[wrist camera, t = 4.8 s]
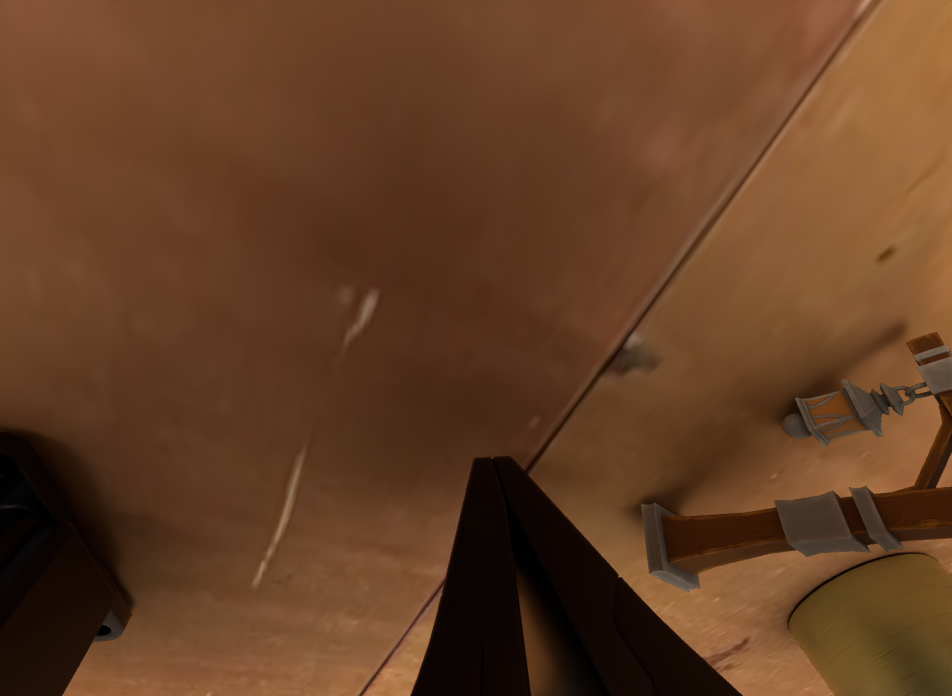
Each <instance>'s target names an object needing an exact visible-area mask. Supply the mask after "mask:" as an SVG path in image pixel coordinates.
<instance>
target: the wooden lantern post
mask: <svg viewBox="0 0 952 696" xmlns="http://www.w3.org/2000/svg"><path fill="white" fill-rule="evenodd" d="M906 344H907V346H908V347H909V349H910V350H911V352H912V353H913V357H914V359H915V360H916V362H917V363H918V365H919V367H917V369H918V370H919V372H920V374H921V376H922V377H923V379H924V381H925V382H923V383H920V384H916V385H914V386H911V387H905V386H900V387H894V388H890V387H888V386H886V385H885V384H883V383H880V390H881V391H882V393H883V395H880V394H878V393H877V392H876V391H874V390H873V389H872V391H871V393H870V394H869V393H867V392H865V391H863V390H861V389H860V388H858V387H856V386H855V385H853V384H852V383H851V382H849V381H848V380H847V379H846V378H845V379H842V380H841V381H842V383H843V385H844V387H845V388H843V389H841V390H839V391H837V392H833V393H829V394H825V395H821V396H817V397H813V398H809V399H800V398H799V397H798V398H795V400H796V402H797V404H798V407H799V409H800V412H801V413H792V414H789V415H788V416H786V417H785V419H784V421H783V429H784V431H785V432H786V433H787V434H788V435H789V436H791V437H794V438H797V439H803V438H807V437H809V436H810V435H811V434H812V435H813V436H814V437H815V438H816V439H817V440H818V441H819V442H820V443H821V444H822V445H824V446H825V447H827V446H828V444H829V443H831V442H832V441H834V440H836V439H839V438H842V437H845V436H848V435H851V434H854V433H857V432H860V431H865V430H872V431H873V433H874V434H875V435H876V436H877V437H882V436H883V435H882V430H881V417H882V413H884V414H887V415H889V409H888V407H892V408H893V410H894V411H895V412H897V413H898V414H899V415H901V416H903V408H904V406H905V405H908V404H910V403H912V402H914V400H915V398H922V397H926V396H930V395H934V397H935V398H936V400H937V401H938V403H939V404H940V405H939V409H940V414H941V418H942V425H941V427H940V429H939V432H938V434H937V436H936V438H935V441H934V443H933V445H932V447H931V449H930V452H929V454H928V456H927V458H926V460H925V463H924V465H923V467H922V469H921V472H920V474H919V476H918V478H917V480H916V483H915V485H914V486H911V487H908V488H905V489H901V490H898V491H895V492H891V493H881V494H873V493H872V492H871V491H870V490H869V489H868V488H867V487H866V486H864V487H861V488H850V487H849V489H850V491H851V494H852V496H851V497H844V498H840V497H839V496H838V495H837V494H836V493H835V492H834V491H833V490H832V491H830V492H827V493H825V494H822V495H819V496H814V497H808V498H801V499H795V500H774V502H775V505H776V508H771V509H765V510H758V511H752V512H746V513H731V514H716V515H701V516H676V515H674V514H672V513H671V512H669V511H667V510H666V509H664V508H662V507H661V506H659V505H657V504H656V503H653V504H652V505H644V504H642V503H641V508H642V516H643V525H644V533H645V541H646V550H647V558H648V567H649V574H651V575H653V576H655V577H657V578H659V579H661V580H663V581H665V582H668V583H670V584H672V585H674V586H676V587H678V588H680V589H682V590H684V591H687V592H689V591H690V590H691V589H694V588H699V589H701V588H700V583H699V577H698V573H700V572H703V571H706V570H708V569H711V568H714V567H717V566H721V565H725V564H729V563H733V562H737V561H742V560H746V559H750V558H754V557H758V556H762V555H766V554H771V553H779V552H786V551H793V550H798V551H799V552H801V553H802V554H804V555H805V556H807V557H808V556H812V555H815V554H819V553H831V552H847V551H855V552H865V553H871V552H870V550H869V548H868V546H867V545H871V544H879V545H880V546H881V547H882V548H883V549H885V550H886V551H887V552H889V551H890V550H895V549H898V550H904V548H903V546H902V544H901V541H916V540H930V539H945V538H952V487H944V488H936V486H937V484H938V481H939V479H940V477H941V475H942V473H943V470H944V468H945V466H946V464H947V461H948V459H949V457H950V455H951V453H952V353H951V351H950V350H949V348H948V346H947V345H944V343H943V342H942V340H941V338H940V336H939V335H938V333H937V332H933V333H930V334H928V335H925V336H922V337H919V338H916V339H913V340H910V341H908V342H906ZM925 386H928V387H929V389H930V391H928V392H924V393H920V394H916V393H915V391H914V390H916V389H918V388H922V387H925ZM897 390H906V391H905V395H906V396H908V397H910V399H909V400H907V401H906V402H904V401H903V400H902V398H901V396H900V395H899V394H898V392H897Z"/></svg>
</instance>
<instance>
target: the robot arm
mask: <svg viewBox="0 0 952 696" xmlns="http://www.w3.org/2000/svg"><path fill="white" fill-rule="evenodd" d="M131 616H132V614H131V610H130V609H129V607H128V605H127V603H126V602H125V600H124V598H123V597H122V595H121V593H120V592H119V590H118V588H117V587H116V585H115V583H114V582H113V580H112V578H111V577H110V575H109V573H108V571H107V570H106V568H105V566H104V565H103V563H102V561H101V560H100V558H99V556H98V555H97V553H96V551H95V550H94V548H93V546H92V544H91V543H90V541H89V539H88V538H87V536H86V534H85V533H84V531H83V529H82V528H81V526H80V524H79V523H78V521H77V519H76V518H75V516H74V514H73V512H72V511H71V509H70V507H69V506H68V504H67V502H66V501H65V499H64V497H63V496H62V494H61V492H60V491H59V489H58V487H57V485H56V484H55V482H54V480H53V479H52V477H51V475H50V474H49V472H48V470H47V469H46V467H45V465H44V464H43V462H42V460H41V459H40V457H39V455H38V453H37V452H36V450H35V449H34V448H33V447H32V446H31V445H30V443H29V442H27V441H25V440H24V439H22V438H20V437H19V436H16V435H13V434H10V433H7V432H1V431H0V696H62V695H63V693H64V691H65V690H66V688H67V686H68V684H69V683H70V681H71V679H72V677H73V676H74V674H75V672H76V670H77V668H78V667H79V665H80V663H81V661H82V660H83V658H84V656H85V654H86V653H87V651H88V649H89V647H90V645H91V644H92V642H98V641H107V640H112V639H115V638H117V637H119V636H121V634H122V633H123V631H124V629H125V627H126V625H127V623H128V621H129V620H130V618H131ZM410 696H743V695H742V694H740V693H739V692H738V691H737V690H736V689H735V688H734V687H733V686H732V685H731V684H730V683H729V682H727V681H726V680H725V679H724V678H723V677H722V676H721V675H720V674H719V673H718V672H717V671H716V670H714V669H713V668H712V667H711V666H710V665H709V664H708V663H707V662H706V661H705V660H704V659H703V658H702V657H700V656H699V655H698V654H697V653H696V652H695V651H694V650H693V649H692V648H691V647H690V646H689V645H687V644H686V643H685V642H684V641H683V640H682V639H681V638H680V637H679V636H678V635H677V634H676V633H675V632H674V631H673V630H672V629H671V628H670V627H669V626H668V625H667V624H666V623H664V622H663V621H662V620H661V619H660V618H659V617H658V616H657V615H656V614H655V613H654V612H653V611H652V609H651V608H650V607H649V606H648V605H647V604H646V603H645V602H644V601H643V600H642V599H641V598H640V597H639V596H638V595H637V594H636V593H635V592H634V590H633V589H632V588H631V587H630V586H629V585H628V584H627V583H626V582H625V581H624V580H623V578H621V577H619V578H618V573H617V572H616V571H615V570H614V569H613V568H612V567H611V565H610V564H609V563H608V562H607V561H606V560H605V559H604V558H603V557H602V556H601V554H600V553H599V552H598V551H597V550H596V549H595V548H594V547H593V546H592V545H591V543H590V542H589V541H588V540H587V539H586V538H585V537H584V536H583V535H582V534H581V532H580V531H579V530H578V529H577V528H576V527H575V526H574V525H573V524H572V523H571V521H570V520H569V519H568V518H567V517H566V516H565V515H564V514H563V513H562V512H561V511H560V509H559V508H558V507H557V506H556V505H555V504H554V503H553V502H552V501H551V500H550V498H549V497H548V496H547V495H546V494H545V493H544V492H543V491H542V490H541V489H540V487H539V486H538V485H537V484H536V483H535V482H534V481H533V480H532V479H531V478H530V476H529V475H528V474H527V473H526V472H525V471H524V470H523V469H522V468H521V467H520V465H519V464H518V463H517V462H516V461H515V460H514V459H513V458H512V457H510V456H497V457H494V458H493V459H492V458H491V457H477V458H474V460H473V463H472V467H471V471H470V476H469V480H468V484H467V488H466V493H465V497H464V501H463V505H462V510H461V514H460V518H459V522H458V527H457V531H456V535H455V539H454V544H453V548H452V552H451V556H450V561H449V565H448V569H447V573H446V578H445V582H444V586H443V590H442V596H441V598H440V602H439V606H438V611H437V615H436V619H435V622H434V626H433V630H432V633H431V637H430V641H429V644H428V647H427V650H426V653H425V656H424V659H423V662H422V665H421V668H420V671H419V674H418V677H417V679H416V682H415V685H414V687H413V690H412V693H411V695H410Z"/></svg>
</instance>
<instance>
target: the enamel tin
mask: <svg viewBox="0 0 952 696" xmlns="http://www.w3.org/2000/svg"><path fill="white" fill-rule="evenodd" d="M789 630H790V633H791V634H792V636H793V637H794V639H795V640H796V641H797V643H798V644H799V646H800V647H801V649H802V650H803V651H804V653H805V654H806V656H807V657H808V658H809V660H810V661H811V663H812V664H813V665H814V667H815V668H816V670H817V671H818V672H819V674H820V675H821V677H822V678H823V679H824V681H825V682H826V684H827V685H828V687H829V688H830V689H831V691H832V692H833V694H834V695H835V696H952V574H951V573H950V572H949V571H948V570H947V569H946V568H945V567H943V566H942V565H941V564H940V563H939V562H938V561H936V560H935V559H934V558H932V557H930V556H927V555H923V554H902V555H895V556H891V557H886V558H882V559H879V560H875V561H872V562H869V563H867V564H864V565H861V566H859V567H856V568H854V569H852V570H850V571H848V572H846V573H843V574H842V575H840V576H838V577H836V578H834V579H832V580H831V581H829V582H828V583H826V584H824V585H823V586H821V587H820V588H819V589H817V590H816V591H815V592H813V593H812V594H811V595H810V596H808V597H807V598H806V599H805V600H804V601H803V602H802V603H801V604H800V605H799V606H798V607H797V609H796V610H795V611H794V613H793V614H792V616H791V618H790V621H789Z"/></svg>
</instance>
